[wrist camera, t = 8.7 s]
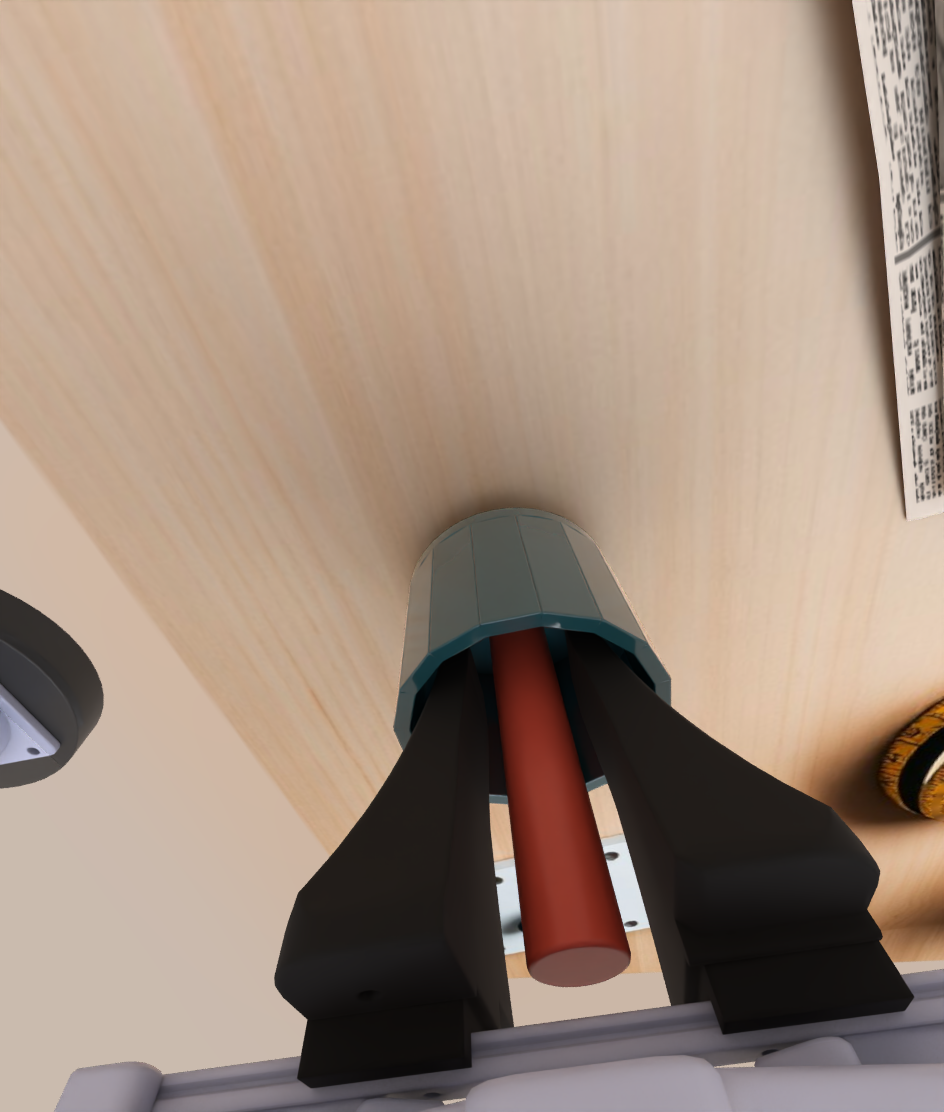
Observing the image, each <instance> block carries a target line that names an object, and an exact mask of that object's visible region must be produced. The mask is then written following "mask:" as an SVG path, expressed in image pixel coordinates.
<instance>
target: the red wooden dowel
mask: <svg viewBox="0 0 944 1112" xmlns="http://www.w3.org/2000/svg"><path fill="white" fill-rule="evenodd" d="M489 641H490V650H491V658H492V667H493V676H494V685H495V693H496V702H497V711H498V719H499V728H500V737H501V746H502V754H503V763H504V772H505V780H506V789H507V798H508V807H509V815H510V824H511V833H512V841H513V850H514V859H515V868H516V876H517V885H518V894H519V902H520V911H521V920H522V929H523V937H524V946H525V955H526V964H527V969H528V971H529V973H530V975H531V976H532V977H533V978H534V979H535V980H537V981H539V982H541V983H544V984H548V985H553V986H558V987H580V986H587V985H592V984H596V983H600V982H603V981H606V980H609V979H611V978H613V977H615V976H617V975H618V974H620V973H622V972H623V971H624V970H625V969H626V968H627V967H628V966H629V964H630V959H631V952H630V948H629V944H628V941H627V937H626V933H625V929H624V926H623V922H622V918H621V914H620V911H619V907H618V903H617V899H616V896H615V892H614V888H613V885H612V881H611V877H610V873H609V870H608V866H607V862H606V858H605V855H604V851H603V847H602V843H601V840H600V836H599V832H598V828H597V825H596V821H595V817H594V813H593V810H592V806H591V802H590V799H589V795H588V791H587V787H586V784H585V780H584V776H583V772H582V769H581V765H580V761H579V757H578V754H577V750H576V746H575V742H574V739H573V735H572V731H571V727H570V724H569V720H568V716H567V713H566V709H565V705H564V701H563V698H562V694H561V690H560V686H559V683H558V679H557V675H556V671H555V668H554V664H553V660H552V656H551V653H550V649H549V645H548V641H547V638H546V634H545V630H544V627H538V628H533V629H528V630H522V631H517V632H512V633H507V634H502V635H497V636H491V637H489Z"/></svg>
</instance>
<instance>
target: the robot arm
mask: <svg viewBox="0 0 944 1112" xmlns="http://www.w3.org/2000/svg"><path fill="white" fill-rule="evenodd" d="M565 636H566V643H567V650H568V657H569V664H570V671H571V678H572V682H573V686H574V690H575V693H576V697H577V701H578V705H579V708H580V712H581V715H582V718H583V721H584V723H585V726H586V728H587V731H588V734H589V736H590V739H591V741H592V744H593V747H594V749H595V752H596V754H597V757H598V760H599V762H600V765H601V767H602V770H603V773H604V775H605V778H606V780H607V783H608V785H609V788H610V791H611V793H612V796H613V799H614V802H615V805H616V808H617V811H618V815H619V818H620V821H621V825H622V828H623V832H624V835H625V839H626V842H627V846H628V849H629V853H630V856H631V860H632V863H633V867H634V871H635V874H636V878H637V881H638V885H639V888H640V892H641V896H642V899H643V903H644V907H645V910H646V914H647V917H648V921H649V925H650V928H651V932H652V936H653V939H654V943H655V947H656V951H657V954H658V958H659V962H660V965H661V969H662V973H663V977H664V980H665V984H666V988H667V992H668V995H669V999H670V1003H671V1006H667V1007H660V1008H652V1009H644V1010H637V1011H630V1012H623V1013H615V1014H608V1015H600V1016H593V1017H585V1018H578V1019H571V1020H564V1021H556V1022H549V1023H542V1024H534V1025H526V1026H519V1027H514V1024H513V1016H512V1009H511V1001H510V993H509V986H508V978H507V970H506V962H505V954H504V946H503V938H502V929H501V921H500V913H499V904H498V895H497V886H496V877H495V868H494V859H493V849H492V840H491V830H490V810H489V745H488V725H487V717H486V709H485V701H484V695H483V691H482V688H481V684H480V681H479V677H478V674H477V670H476V666H475V663H474V659H473V656H472V652H471V649H470V647H469V648H467V649H465V650H463V651H461V652H460V653H458V654H456V655H454V656H452V657H451V658H449V659H447V660H445V661H443V662H442V663H441V664H440V666H439V669H438V672H437V675H436V678H435V680H434V683H433V686H432V689H431V691H430V694H429V696H428V699H427V701H426V704H425V706H424V709H423V711H422V713H421V716H420V718H419V720H418V722H417V724H416V726H415V728H414V730H413V732H412V735H411V737H410V739H409V741H408V743H407V745H406V747H405V748H404V750H403V752H402V754H401V756H400V758H399V759H398V761H397V763H396V765H395V766H394V768H393V770H392V771H391V773H390V775H389V776H388V778H387V780H386V781H385V783H384V784H383V786H382V787H381V789H380V790H379V792H378V794H377V795H376V797H375V798H374V800H373V801H372V803H371V804H370V806H369V807H368V808H367V810H366V811H365V813H364V814H363V815H362V817H361V818H360V819H359V821H358V822H357V823H356V825H355V826H354V827H353V828H352V830H351V831H350V832H349V834H348V835H347V836H346V838H345V839H344V840H343V842H342V843H341V844H340V845H339V847H338V848H337V849H336V850H335V852H334V853H333V854H332V855H331V856H330V857H329V859H328V860H327V861H326V862H325V863H324V864H323V866H322V867H321V868H320V869H319V870H318V871H317V872H316V874H315V875H314V876H313V877H312V878H311V879H310V880H309V881H308V883H307V884H306V885H305V886H304V887H303V888H302V889H301V890H300V891H299V893H298V895H297V898H296V901H295V904H294V907H293V910H292V912H291V915H290V918H289V921H288V924H287V928H286V931H285V935H284V939H283V943H282V947H281V951H280V956H279V960H278V964H277V968H276V972H275V977H274V979H275V986H276V988H277V990H278V991H279V992H280V994H281V995H282V997H283V998H284V999H285V1000H287V1001H288V1002H289V1003H290V1004H291V1005H292V1006H293V1007H294V1008H296V1010H298V1011H299V1012H300V1013H301V1014H302V1015H303V1016H304V1017H306V1019H307V1026H306V1031H305V1037H304V1042H303V1048H302V1053H301V1056H298V1057H290V1058H283V1059H275V1060H268V1061H261V1062H253V1063H246V1064H239V1065H231V1066H224V1067H216V1068H209V1069H202V1070H195V1071H187V1072H179V1073H173V1074H165V1075H162V1073H161V1071H160V1070H158V1069H157V1068H156V1067H154V1066H152V1065H149V1064H147V1063H142V1062H122V1063H115V1064H108V1065H100V1066H93V1067H86V1068H79V1069H77V1070H76V1071H74V1072H73V1073H72V1074H71V1076H70V1078H69V1080H68V1082H67V1085H66V1087H65V1089H64V1091H63V1093H62V1095H61V1097H60V1100H59V1102H58V1104H57V1106H56V1109H55V1110H54V1112H944V969H940V970H932V971H925V972H918V973H910V974H903V975H900V973H899V971H898V970H897V968H896V967H895V965H894V964H893V962H892V960H891V959H890V957H889V956H888V954H887V953H886V951H885V949H884V948H883V946H882V945H881V943H880V942H879V940H881V939H882V937H883V936H882V933H881V930H880V929H879V927H878V926H877V924H876V923H875V921H874V919H873V918H872V916H871V915H870V913H869V912H868V910H867V908H868V906H869V904H870V901H871V899H872V897H873V895H874V893H875V890H876V888H877V886H878V881H879V876H880V870H879V867H878V865H877V863H876V862H875V860H874V859H873V857H872V856H871V855H870V853H869V852H868V850H867V849H866V848H865V846H864V845H863V843H862V842H861V841H860V840H859V838H858V837H857V836H856V835H855V834H854V833H853V832H852V830H851V829H850V828H849V827H848V826H847V825H846V824H845V822H844V821H843V820H842V819H841V818H840V817H839V816H838V815H837V813H836V812H835V811H834V810H833V809H832V808H831V807H829V806H827V805H825V804H824V803H822V802H820V801H818V800H816V799H814V798H812V797H810V796H808V795H806V794H804V793H802V792H800V791H798V790H796V789H795V788H793V787H791V786H789V785H787V784H785V783H783V782H781V781H780V780H778V779H776V778H774V777H773V776H771V775H769V774H768V773H766V772H764V771H763V770H761V769H759V768H757V767H756V766H754V765H752V764H751V763H749V762H748V761H746V760H745V759H743V758H742V757H740V756H739V755H737V754H735V753H734V752H732V751H731V750H729V749H728V748H726V747H725V746H723V745H722V744H720V743H719V742H717V741H716V740H714V739H713V738H711V737H710V736H708V735H707V734H706V733H704V732H703V731H702V730H700V729H699V728H698V727H696V726H695V725H694V724H692V723H691V722H690V721H688V720H687V719H686V718H685V717H683V716H682V715H681V714H679V713H678V712H677V711H676V710H674V709H673V708H672V707H671V706H670V705H668V704H667V703H666V702H665V701H664V700H663V699H662V698H660V697H659V696H658V695H657V694H656V693H655V692H654V691H653V690H652V689H650V688H649V687H648V686H647V685H646V684H645V683H644V682H643V681H642V680H641V679H640V678H639V677H638V676H637V675H636V674H635V673H634V672H633V671H632V670H631V669H630V668H629V667H628V666H627V665H626V664H625V663H624V662H623V661H622V660H621V659H620V658H619V656H618V655H617V654H616V653H615V652H614V651H613V650H612V649H611V647H610V646H609V645H608V644H607V643H606V642H605V640H604V639H603V638H602V637H600V636H598V635H596V634H594V633H588V632H580V631H571V630H565ZM59 748H60V743H59V741H58V740H57V739H56V738H55V737H54V736H53V735H52V734H51V733H50V732H49V731H48V730H47V729H46V728H45V727H44V726H43V725H42V724H41V723H40V722H39V721H38V720H37V719H36V718H35V717H34V716H33V715H32V714H31V713H30V712H29V711H28V710H27V709H26V708H25V707H24V706H23V705H22V704H21V703H20V702H19V701H18V700H17V699H16V698H15V697H14V696H13V695H12V694H11V693H10V692H9V691H8V690H7V689H6V688H5V687H4V686H3V685H2V684H1V683H0V765H2V764H7V763H12V762H18V761H23V760H28V759H34V758H39V757H45V756H50V755H53V754H55V753H56V751H57V750H58V749H59ZM754 1061H756V1062H755V1067H733V1068H714V1066H722V1065H730V1064H738V1063H746V1062H754ZM461 1098H466V1100H464V1101H460V1102H456V1103H452V1104H448V1105H444V1103H443V1102H442V1101H445V1100H453V1099H461Z"/></svg>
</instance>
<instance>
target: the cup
mask: <svg viewBox="0 0 944 1112" xmlns="http://www.w3.org/2000/svg"><path fill="white" fill-rule="evenodd" d="M538 627H544V630H545V634H546V638H547V641H548V645H549V649H550V653H551V656H552V660H553V664H554V668H555V671H556V675H557V679H558V683H559V686H560V690H561V694H562V698H563V701H564V705H565V709H566V713H567V716H568V720H569V724H570V727H571V731H572V735H573V739H574V742H575V746H576V750H577V754H578V757H579V761H580V765H581V769H582V772H583V776H584V780H585V784H586V787H587V791H588V792H589V791H591V790H593V789H596V788H598V787H601V786H603V785H605V784H608V783H607V780H606V778H605V775H604V773H603V770H602V767H601V765H600V762H599V760H598V757H597V754H596V752H595V749H594V747H593V744H592V741H591V739H590V736H589V734H588V731H587V728H586V726H585V723H584V721H583V718H582V715H581V712H580V708H579V705H578V701H577V697H576V693H575V690H574V686H573V682H572V678H571V671H570V664H569V657H568V650H567V643H566V636H565V630H571V631H580V632H588V633H594V634H596V635H598V636H600V637H602V638H603V639H604V640H605V642H606V643H607V644H608V645H609V646H610V647H611V649H612V650H613V651H614V652H615V653H616V654H617V655H618V656H619V658H620V659H621V660H622V661H623V662H624V663H625V664H626V665H627V666H628V667H629V668H630V669H631V670H632V671H633V672H634V673H635V674H636V675H637V676H638V677H639V678H640V679H641V680H642V681H643V682H644V683H645V684H646V685H647V686H648V687H649V688H650V689H652V690H653V691H654V692H655V693H656V694H657V695H658V696H659V697H660V698H662V699H663V700H664V701H665V702H666V703H667V704H668V705H670V706H671V678H670V675H669V673H668V671H667V669H666V667H665V665H664V664H663V662H662V660H661V658H660V656H659V654H658V653H657V651H656V649H655V647H654V645H653V643H652V641H651V640H650V638H649V636H648V634H647V632H646V630H645V629H644V627H643V625H642V623H641V621H640V619H639V617H638V616H637V614H636V612H635V610H634V608H633V606H632V605H631V603H630V601H629V599H628V597H627V595H626V593H625V592H624V590H623V588H622V586H621V584H620V582H619V581H618V579H617V577H616V575H615V573H614V571H613V570H612V568H611V567H610V565H609V564H608V562H607V560H606V559H605V557H604V555H603V554H602V552H601V550H600V548H599V547H598V545H597V544H596V543H595V541H594V540H593V539H592V538H591V537H590V536H589V535H588V534H587V533H586V532H585V531H584V530H583V529H582V528H580V527H579V526H577V525H576V524H574V523H573V522H571V521H569V520H567V519H565V518H563V517H561V516H559V515H556V514H553V513H550V512H547V511H542V510H537V509H531V508H502V509H496V510H490V511H486V512H483V513H479V514H476V515H473V516H471V517H469V518H466V519H464V520H462V521H460V522H458V523H457V524H455V525H453V526H451V527H450V528H449V529H447V530H446V531H444V532H443V533H442V534H440V535H439V536H438V537H437V538H436V539H435V540H434V541H433V542H432V543H431V544H430V545H429V546H428V548H427V549H426V550H425V551H424V553H423V554H422V556H421V558H420V559H419V561H418V563H417V564H416V567H415V569H414V572H413V574H412V578H411V583H410V588H409V597H408V604H407V611H406V619H405V628H404V637H403V646H402V654H401V663H400V672H399V681H398V690H397V698H396V707H395V716H394V725H393V728H394V732H395V734H396V736H397V738H398V741H399V743H400V745H401V747H402V750H404V748H405V747H406V745H407V743H408V741H409V739H410V737H411V735H412V732H413V730H414V728H415V726H416V724H417V722H418V720H419V718H420V716H421V713H422V711H423V709H424V706H425V704H426V701H427V699H428V696H429V694H430V691H431V689H432V686H433V683H434V680H435V678H436V675H437V672H438V669H439V666H440V664H441V663H442V662H443V661H445V660H447V659H449V658H451V657H452V656H454V655H456V654H458V653H460V652H461V651H463V650H465V649H467V648H469V647H470V649H471V652H472V656H473V659H474V663H475V666H476V670H477V674H478V677H479V681H480V684H481V688H482V691H483V695H484V701H485V709H486V717H487V725H488V745H489V803H495V804H508V798H507V789H506V780H505V772H504V763H503V754H502V746H501V737H500V728H499V719H498V711H497V702H496V693H495V685H494V676H493V667H492V658H491V650H490V641H489V637H491V636H497V635H502V634H507V633H512V632H517V631H522V630H528V629H533V628H538Z"/></svg>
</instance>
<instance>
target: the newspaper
mask: <svg viewBox="0 0 944 1112" xmlns="http://www.w3.org/2000/svg"><path fill="white" fill-rule="evenodd" d="M852 4H853V10H854V17H855V23H856V30H857V36H858V43H859V49H860V56H861V62H862V69H863V75H864V82H865V88H866V95H867V101H868V108H869V114H870V121H871V127H872V134H873V140H874V147H875V153H876V160H877V166H878V173H879V181H880V193H881V206H882V218H883V231H884V243H885V256H886V268H887V280H888V293H889V305H890V318H891V330H892V343H893V355H894V367H895V380H896V392H897V405H898V417H899V430H900V442H901V455H902V467H903V479H904V492H905V504H906V517H907V521H912V520H918V519H922V518H926V517H929V516H933V515H937V514H940V513H944V0H852Z"/></svg>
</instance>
